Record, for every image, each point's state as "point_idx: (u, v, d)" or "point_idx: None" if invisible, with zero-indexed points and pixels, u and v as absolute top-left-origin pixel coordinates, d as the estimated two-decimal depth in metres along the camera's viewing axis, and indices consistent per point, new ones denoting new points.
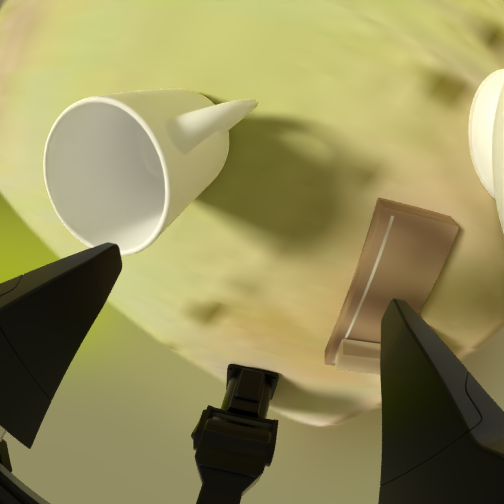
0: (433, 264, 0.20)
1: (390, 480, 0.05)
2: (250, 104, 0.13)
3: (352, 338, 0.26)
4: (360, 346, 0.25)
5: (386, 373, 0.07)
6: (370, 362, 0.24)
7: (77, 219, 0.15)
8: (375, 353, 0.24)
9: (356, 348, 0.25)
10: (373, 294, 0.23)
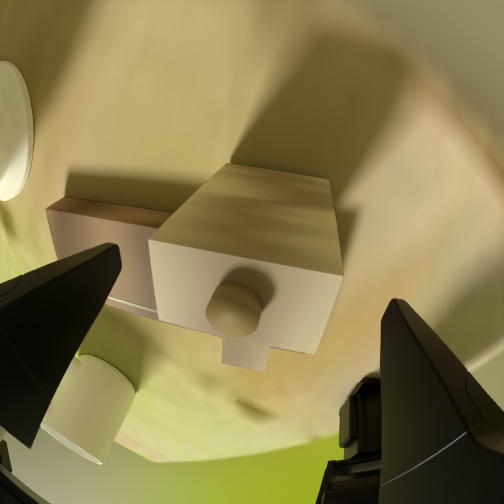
0: (85, 230, 0.15)
1: (390, 480, 0.05)
2: None
3: None
4: None
5: (386, 373, 0.07)
6: None
7: None
8: None
9: None
10: (147, 300, 0.17)
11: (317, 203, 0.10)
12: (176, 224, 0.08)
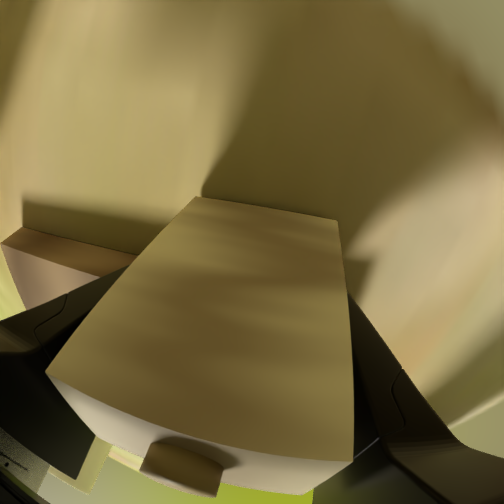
0: (39, 272, 0.12)
1: None
2: None
3: None
4: None
5: None
6: None
7: None
8: None
9: None
10: None
11: (321, 276, 0.07)
12: (88, 338, 0.04)
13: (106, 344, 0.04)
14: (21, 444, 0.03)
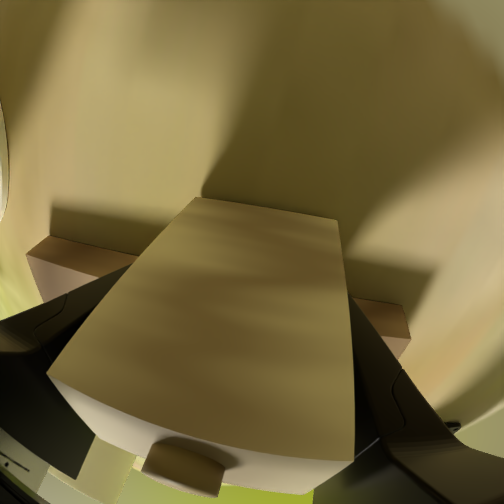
0: (77, 287, 0.12)
1: None
2: None
3: None
4: None
5: None
6: None
7: None
8: None
9: None
10: None
11: (321, 276, 0.07)
12: (89, 340, 0.04)
13: (107, 345, 0.04)
14: (21, 444, 0.03)
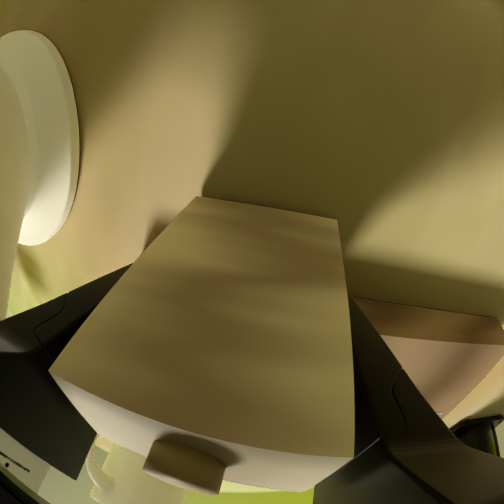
0: None
1: None
2: None
3: None
4: None
5: None
6: None
7: None
8: None
9: None
10: None
11: (321, 275, 0.07)
12: (90, 338, 0.04)
13: (109, 343, 0.04)
14: (21, 444, 0.03)
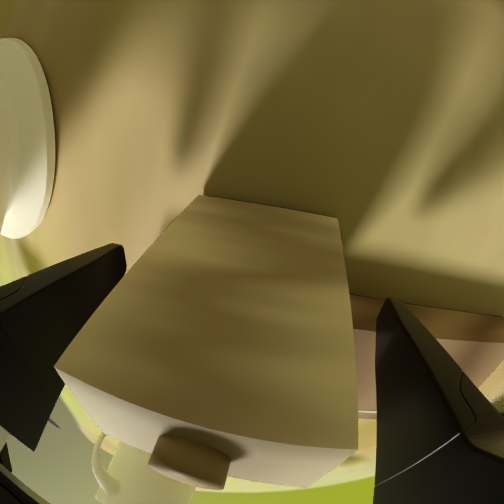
0: None
1: (385, 480, 0.05)
2: (93, 452, 0.16)
3: None
4: None
5: (381, 373, 0.07)
6: None
7: None
8: None
9: None
10: None
11: (322, 272, 0.07)
12: (96, 334, 0.05)
13: (115, 338, 0.05)
14: None
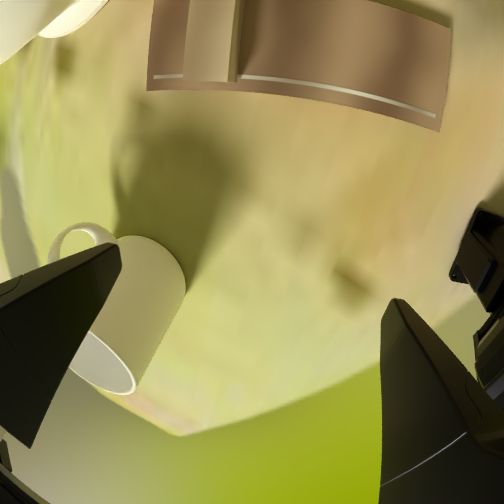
0: None
1: (390, 480, 0.05)
2: (55, 239, 0.17)
3: (372, 84, 0.13)
4: None
5: (386, 373, 0.07)
6: (199, 27, 0.11)
7: (130, 383, 0.19)
8: None
9: None
10: (271, 65, 0.14)
11: None
12: None
13: None
14: None
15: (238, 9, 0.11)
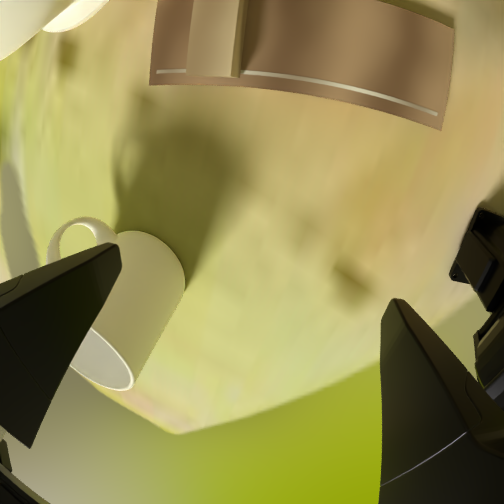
0: None
1: (391, 480, 0.05)
2: (55, 232, 0.17)
3: (375, 82, 0.13)
4: None
5: (386, 373, 0.07)
6: (203, 22, 0.11)
7: (128, 379, 0.19)
8: None
9: None
10: (274, 62, 0.13)
11: None
12: None
13: None
14: None
15: (242, 5, 0.11)
